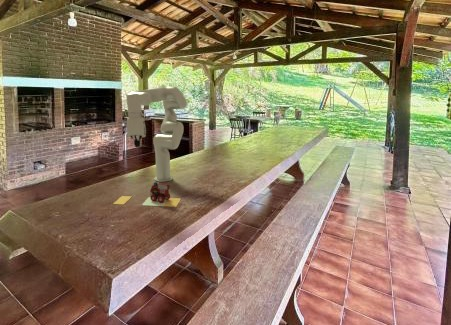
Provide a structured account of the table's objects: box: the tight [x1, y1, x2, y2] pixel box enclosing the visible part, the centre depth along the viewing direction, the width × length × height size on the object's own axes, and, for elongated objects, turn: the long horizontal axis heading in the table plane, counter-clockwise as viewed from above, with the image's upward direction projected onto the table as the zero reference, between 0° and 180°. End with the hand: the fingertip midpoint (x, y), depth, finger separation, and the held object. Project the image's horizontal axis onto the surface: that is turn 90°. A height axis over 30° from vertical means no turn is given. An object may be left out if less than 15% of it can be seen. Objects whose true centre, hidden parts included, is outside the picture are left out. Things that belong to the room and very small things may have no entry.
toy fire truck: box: [149, 181, 171, 203], centre depth 163 cm, size 7×12×10 cm, turn 65°
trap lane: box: [112, 195, 182, 208], centre depth 163 cm, size 12×35×1 cm, turn 86°
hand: (137, 146), depth 171 cm, fingers closed
